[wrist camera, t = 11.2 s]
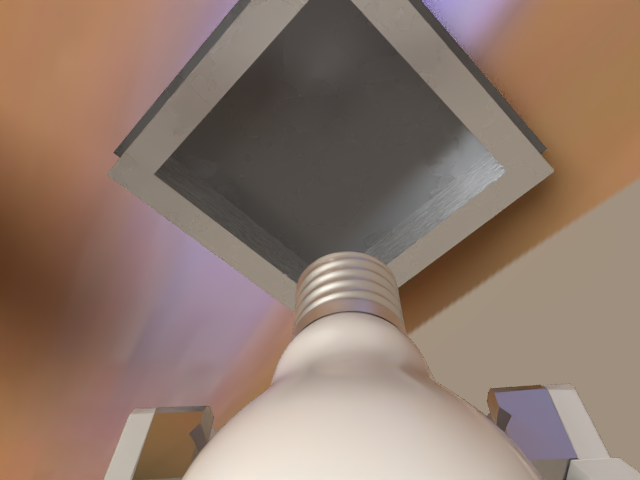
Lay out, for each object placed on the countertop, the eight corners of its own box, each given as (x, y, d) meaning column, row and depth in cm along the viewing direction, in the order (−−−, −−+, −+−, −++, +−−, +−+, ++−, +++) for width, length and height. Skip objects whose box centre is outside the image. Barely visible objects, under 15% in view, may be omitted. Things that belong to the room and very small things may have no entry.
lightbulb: (195, 313, 15) (-7, 946, 6) (294, 127, 12) (199, 824, 3) (382, 387, 17) (452, 979, 8) (512, 239, 14) (891, 923, 5)
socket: (329, 284, 28) (330, 345, 24) (132, 129, 23) (95, 175, 19) (526, 125, 23) (566, 171, 19) (328, -108, 18) (329, -110, 15)
